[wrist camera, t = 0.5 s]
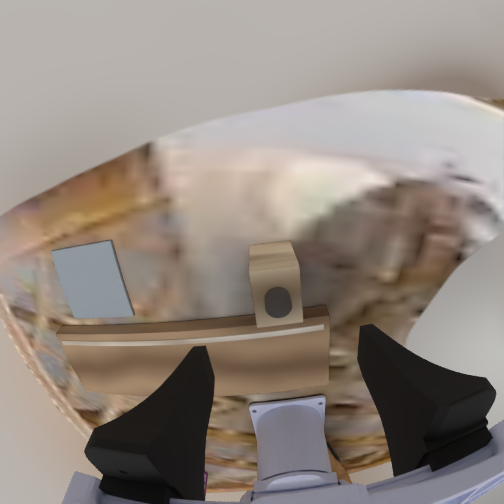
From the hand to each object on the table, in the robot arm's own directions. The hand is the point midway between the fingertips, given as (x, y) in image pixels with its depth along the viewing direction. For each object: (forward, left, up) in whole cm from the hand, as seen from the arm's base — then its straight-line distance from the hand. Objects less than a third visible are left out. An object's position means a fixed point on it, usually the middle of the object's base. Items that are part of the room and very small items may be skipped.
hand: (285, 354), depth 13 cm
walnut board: (-8, +9, -10) cm, 16 cm away
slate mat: (+1, +16, -10) cm, 19 cm away
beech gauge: (0, 0, -10) cm, 10 cm away
